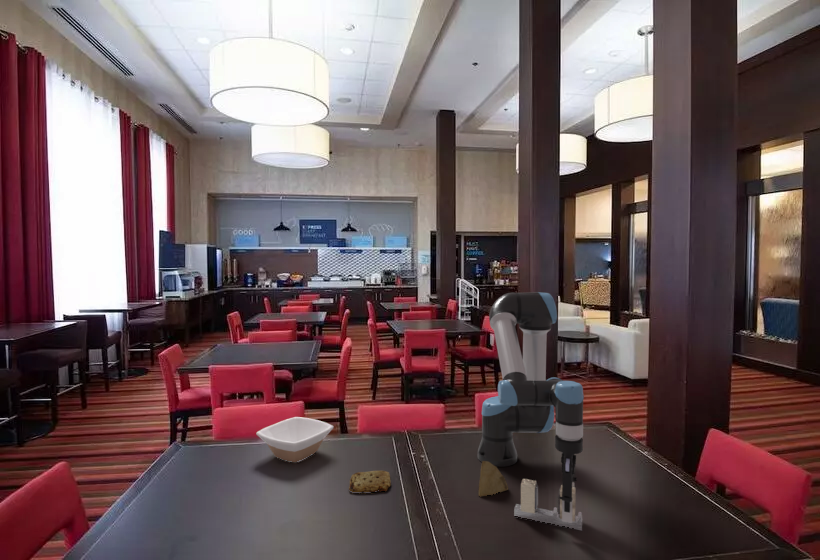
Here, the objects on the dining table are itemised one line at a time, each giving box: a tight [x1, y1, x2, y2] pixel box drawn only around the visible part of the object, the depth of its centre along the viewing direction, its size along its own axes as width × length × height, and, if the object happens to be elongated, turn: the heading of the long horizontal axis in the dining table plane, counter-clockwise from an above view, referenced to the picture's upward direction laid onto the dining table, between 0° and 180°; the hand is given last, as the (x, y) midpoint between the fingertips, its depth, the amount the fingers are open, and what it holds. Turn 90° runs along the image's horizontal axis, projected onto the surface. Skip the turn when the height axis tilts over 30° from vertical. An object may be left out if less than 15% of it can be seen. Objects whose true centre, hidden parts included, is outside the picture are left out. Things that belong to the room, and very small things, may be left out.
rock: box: [477, 461, 509, 498], centre depth 152 cm, size 11×9×10 cm
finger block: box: [557, 484, 577, 521], centre depth 133 cm, size 4×4×8 cm
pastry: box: [348, 470, 392, 492], centre depth 159 cm, size 17×17×3 cm
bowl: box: [256, 416, 334, 462], centre depth 182 cm, size 24×25×11 cm
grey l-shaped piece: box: [513, 478, 583, 531], centre depth 135 cm, size 19×4×10 cm, turn 68°
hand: (568, 511), depth 133 cm, fingers open, 10 cm apart
